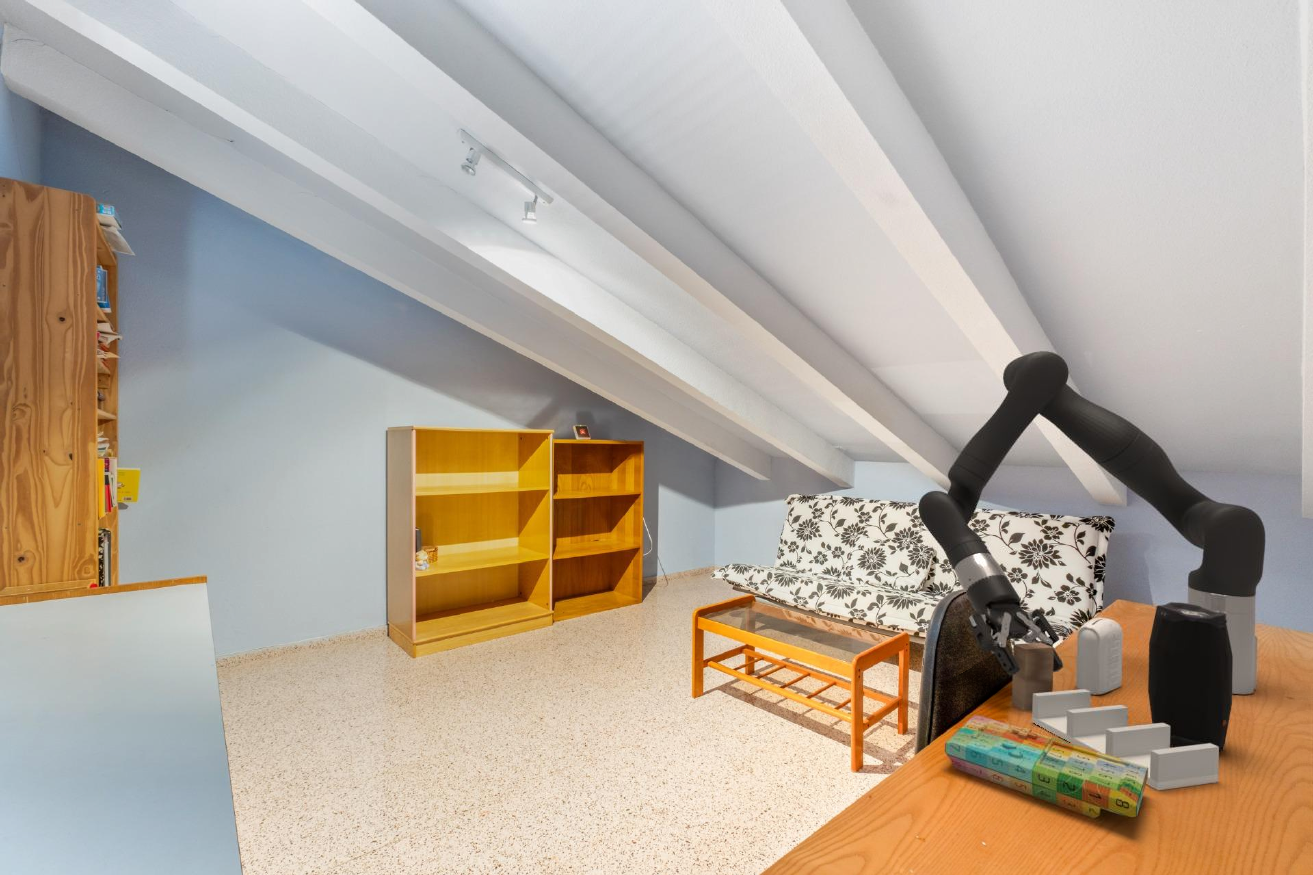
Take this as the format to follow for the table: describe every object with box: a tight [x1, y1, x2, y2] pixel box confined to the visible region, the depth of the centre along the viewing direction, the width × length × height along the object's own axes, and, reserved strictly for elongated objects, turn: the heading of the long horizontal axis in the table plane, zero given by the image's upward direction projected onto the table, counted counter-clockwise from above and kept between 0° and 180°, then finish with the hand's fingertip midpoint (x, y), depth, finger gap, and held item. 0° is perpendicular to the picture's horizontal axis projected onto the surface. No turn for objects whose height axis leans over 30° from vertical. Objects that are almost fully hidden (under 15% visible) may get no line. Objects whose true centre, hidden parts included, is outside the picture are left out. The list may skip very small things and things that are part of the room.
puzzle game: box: [944, 715, 1148, 819], centre depth 79 cm, size 12×5×20 cm
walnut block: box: [1011, 642, 1055, 712], centre depth 103 cm, size 6×2×10 cm, turn 104°
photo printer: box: [1075, 617, 1124, 696], centre depth 112 cm, size 10×4×12 cm, turn 123°
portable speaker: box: [1147, 601, 1233, 751], centre depth 91 cm, size 9×9×20 cm
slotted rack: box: [1031, 689, 1220, 791], centre depth 88 cm, size 10×19×4 cm, turn 14°
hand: (1036, 671), depth 102 cm, fingers open, 8 cm apart
